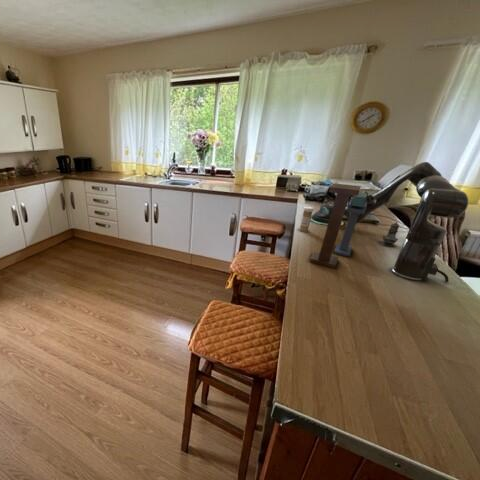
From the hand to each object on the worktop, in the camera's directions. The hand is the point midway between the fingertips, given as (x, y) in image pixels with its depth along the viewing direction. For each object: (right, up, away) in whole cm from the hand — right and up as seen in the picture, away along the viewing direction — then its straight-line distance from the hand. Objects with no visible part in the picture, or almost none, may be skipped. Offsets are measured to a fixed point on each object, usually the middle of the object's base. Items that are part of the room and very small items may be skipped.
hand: (361, 193), depth 113 cm
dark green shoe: (+15, -9, +48) cm, 51 cm away
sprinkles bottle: (-9, -16, +30) cm, 35 cm away
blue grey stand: (-5, -26, +5) cm, 27 cm away
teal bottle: (-2, -4, 0) cm, 4 cm away
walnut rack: (-19, -30, -4) cm, 36 cm away
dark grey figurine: (+24, -23, +13) cm, 36 cm away
